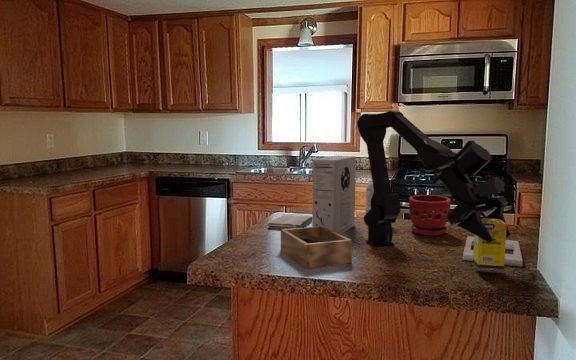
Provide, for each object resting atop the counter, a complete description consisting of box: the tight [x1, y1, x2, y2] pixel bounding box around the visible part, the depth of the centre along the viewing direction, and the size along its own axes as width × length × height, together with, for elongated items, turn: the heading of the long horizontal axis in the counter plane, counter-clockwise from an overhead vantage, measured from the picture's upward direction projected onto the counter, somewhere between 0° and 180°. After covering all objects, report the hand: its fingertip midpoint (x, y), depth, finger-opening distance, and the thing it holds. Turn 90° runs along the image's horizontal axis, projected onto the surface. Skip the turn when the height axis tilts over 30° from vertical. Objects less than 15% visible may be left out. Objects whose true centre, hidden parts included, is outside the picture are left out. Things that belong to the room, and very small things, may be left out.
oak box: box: [280, 226, 353, 269], centre depth 121 cm, size 13×18×6 cm
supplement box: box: [472, 217, 508, 270], centre depth 107 cm, size 6×6×11 cm
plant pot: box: [408, 194, 451, 236], centre depth 148 cm, size 13×13×12 cm
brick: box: [298, 235, 332, 244], centre depth 123 cm, size 11×4×5 cm, turn 54°
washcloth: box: [266, 214, 312, 231], centre depth 161 cm, size 12×18×3 cm, turn 161°
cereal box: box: [311, 155, 357, 235], centre depth 150 cm, size 22×8×25 cm, turn 154°
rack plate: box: [462, 235, 524, 267], centre depth 125 cm, size 22×14×2 cm, turn 155°
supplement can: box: [365, 181, 374, 215], centre depth 163 cm, size 8×8×15 cm
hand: (500, 238), depth 105 cm, fingers closed on supplement box, 8 cm apart
